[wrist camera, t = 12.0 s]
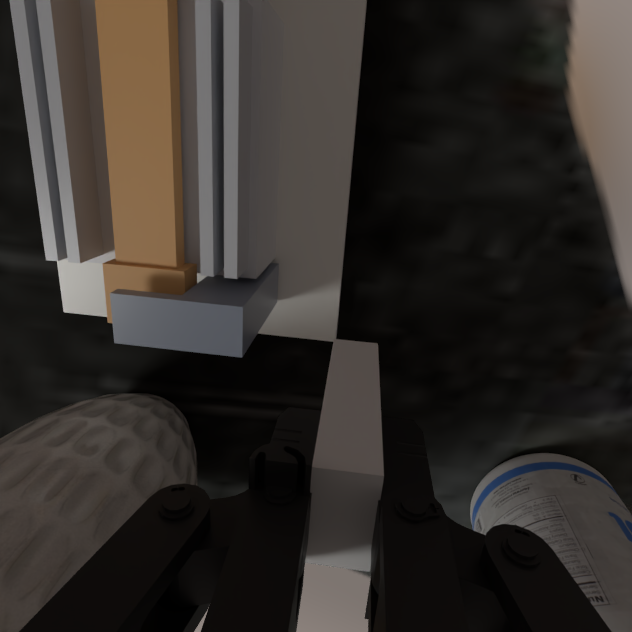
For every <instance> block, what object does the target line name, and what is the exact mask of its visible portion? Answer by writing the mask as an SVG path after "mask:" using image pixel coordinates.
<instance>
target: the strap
mask: <svg viewBox="0 0 632 632" xmlns="http://www.w3.org/2000/svg"><path fill="white" fill-rule="evenodd" d="M95 9H96V21H97V34H98V46H99V59H100V71H101V84H102V96H103V109H104V121H105V134H106V146H107V159H108V171H109V183H110V196H111V208H112V221H113V233H114V246H115V259H112V260H110V261H107V262H105V263H102V264H103V275H104V286H105V297H106V308H107V319H108V323H113V322H112V312H111V301H110V293H111V292H113V291H115V290H116V289H127V290H136V291H146V292H155V293H165V294H175V295H183V294H184V293H185V292H187V291H188V290H189V289H191V288H192V287H193V286H195V285H196V284H197V264H193V263H185V256H184V221H183V186H182V151H181V115H180V80H179V45H178V10H177V0H95Z"/></svg>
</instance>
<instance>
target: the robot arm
mask: <svg viewBox="0 0 632 632" xmlns="http://www.w3.org/2000/svg"><path fill="white" fill-rule="evenodd" d="M305 563H311V564H318V565H326V566H332V567H339V568H346V569H353V570H360V571H368V572H370V566H371V581H370V587H369V594H368V601H367V607H366V614H365V619H369V620H368V632H612V631H611V630H610V629H609V627H608V626H607V624H606V623H605V622H604V620H603V619H602V618H601V616H600V615H599V613H598V612H597V611H596V609H595V608H594V606H593V605H592V604H591V602H590V601H589V599H588V598H587V597H586V595H585V594H584V592H583V591H582V590H581V588H580V587H579V586H578V584H577V583H576V581H575V580H574V579H573V577H572V576H571V574H570V573H569V572H568V570H567V569H566V567H565V566H564V565H563V563H562V562H561V560H560V559H559V558H558V556H557V555H556V553H555V552H554V551H553V549H552V548H551V547H550V546H549V545H548V544H547V543H546V542H545V541H544V540H543V539H542V538H541V537H539V536H538V535H536V534H535V533H533V532H532V531H530V530H528V529H525V528H522V527H520V526H517V525H510V524H501V525H497V526H493V527H492V528H491V529H490V530H489V531H488V532H487V533H486V535H484V534H481V533H479V532H476V531H473V530H471V529H468V528H466V527H464V526H462V525H460V524H458V523H456V522H454V521H453V520H452V519H450V518H449V517H448V516H447V515H446V514H445V512H444V510H443V508H442V505H441V504H440V503H439V502H438V501H437V500H436V499H435V497H434V491H433V486H432V481H431V475H430V470H429V464H428V459H427V453H426V448H425V443H424V437H423V432H422V431H421V429H420V428H419V427H418V426H417V424H416V423H415V422H414V421H413V420H408V419H399V418H391V417H382V416H381V400H380V378H379V357H378V343H368V342H359V341H349V340H340V339H334V341H333V347H332V353H331V359H330V364H329V370H328V376H327V382H326V388H325V394H324V399H323V405H322V411H319V410H311V409H302V408H293V407H288V408H287V409H286V410H285V411H284V412H283V413H282V414H281V415H279V416H278V420H277V423H276V426H275V430H274V432H273V435H272V439H271V441H270V443H269V444H265V445H262V446H261V447H259V448H258V449H256V450H254V452H253V453H252V455H251V456H250V458H249V489H248V490H246V491H245V492H243V493H241V494H238V495H236V496H231V497H227V498H219V499H211V500H210V498H209V496H208V495H207V493H206V492H205V490H203V489H201V488H199V487H198V486H196V485H191V484H185V483H183V484H175V485H170V486H167V487H165V488H162V489H160V490H158V491H157V492H156V493H154V494H153V495H152V496H150V497H149V498H148V499H147V500H146V501H145V502H144V503H143V504H142V505H141V507H140V508H139V509H138V510H137V511H136V512H135V513H134V514H133V515H132V516H131V517H130V518H129V519H128V520H127V521H126V522H125V523H124V524H123V525H122V526H121V527H120V528H119V529H118V530H117V531H116V532H115V533H114V534H113V535H112V536H111V537H110V538H109V539H108V540H107V541H106V543H105V544H104V545H103V546H102V547H101V548H100V549H99V550H98V551H97V552H96V553H95V554H94V555H93V556H92V557H91V558H90V559H89V560H88V561H87V562H86V563H85V564H84V565H83V566H82V567H81V568H80V569H79V570H78V571H77V572H76V573H75V574H74V575H73V576H72V577H71V579H70V580H69V581H68V582H67V583H66V584H65V585H64V586H63V587H62V588H61V589H60V590H59V591H58V592H57V593H56V594H55V595H54V596H53V597H52V598H51V599H50V600H49V601H48V602H47V603H46V604H45V605H44V606H43V607H42V608H41V609H40V610H39V611H38V612H37V614H36V615H35V616H34V617H33V618H32V619H31V620H30V621H29V622H28V623H27V624H26V625H25V626H24V627H23V628H22V629H21V630H20V631H19V632H194V631H195V629H196V627H197V626H198V624H199V622H200V621H201V619H202V618H203V616H204V614H205V613H206V611H207V609H208V607H209V609H208V612H207V615H206V618H205V621H204V624H203V627H202V630H201V632H296V628H297V622H298V615H299V608H300V601H301V594H302V587H303V576H304V565H305ZM209 605H210V606H209Z"/></svg>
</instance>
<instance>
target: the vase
mask: <svg viewBox="0 0 632 632" xmlns="http://www.w3.org/2000/svg"><path fill="white" fill-rule="evenodd" d="M183 483H185V484H191V485H196V486H197V456H196V450H195V446H194V442H193V438H192V434H191V431H190V428H189V424H188V422H187V420H186V418H185V416H184V415H183V413H182V412H181V411H180V410H179V409H178V408H177V407H176V406H175V405H174V404H172V403H171V402H169V401H168V400H166V399H164V398H162V397H159V396H156V395H152V394H144V393H125V394H111V395H105V396H101V397H97V398H93V399H89V400H85V401H81V402H77V403H74V404H71V405H69V406H66V407H64V408H61V409H59V410H56V411H54V412H51V413H49V414H46V415H44V416H41V417H39V418H37V419H35V420H33V421H31V422H29V423H27V424H25V425H24V426H22V427H20V428H18V429H16V430H15V431H13V432H11V433H9V434H7V435H6V436H4V437H2V438H0V632H19V631H20V630H21V629H22V628H23V627H24V626H25V625H26V624H27V623H28V622H29V621H30V620H31V619H32V618H33V617H34V616H35V615H36V614H37V612H38V611H39V610H40V609H41V608H42V607H43V606H44V605H45V604H46V603H47V602H48V601H49V600H50V599H51V598H52V597H53V596H54V595H55V594H56V593H57V592H58V591H59V590H60V589H61V588H62V587H63V586H64V585H65V584H66V583H67V582H68V581H69V580H70V579H71V577H72V576H73V575H74V574H75V573H76V572H77V571H78V570H79V569H80V568H81V567H82V566H83V565H84V564H85V563H86V562H87V561H88V560H89V559H90V558H91V557H92V556H93V555H94V554H95V553H96V552H97V551H98V550H99V549H100V548H101V547H102V546H103V545H104V544H105V543H106V541H107V540H108V539H109V538H110V537H111V536H112V535H113V534H114V533H115V532H116V531H117V530H118V529H119V528H120V527H121V526H122V525H123V524H124V523H125V522H126V521H127V520H128V519H129V518H130V517H131V516H132V515H133V514H134V513H135V512H136V511H137V510H138V509H139V508H140V507H141V505H142V504H143V503H144V502H145V501H146V500H147V499H148V498H149V497H150V496H152V495H153V494H154V493H156V492H157V491H158V490H160V489H162V488H165V487H167V486H170V485H175V484H183Z"/></svg>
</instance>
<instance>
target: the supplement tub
mask: <svg viewBox="0 0 632 632" xmlns="http://www.w3.org/2000/svg"><path fill="white" fill-rule="evenodd" d="M470 517H471V523H472V527H473V531H476V532H479V533H481V534H484V535H486V533H487V532H488V531H489V530H490V529H491V528H492V527H493V526H497V525H501V524H510V525H517V526H520V527H522V528H525V529H528V530H530V531H532V532H533V533H535V534H536V535H538V536H539V537H541V538H542V539H543V540H544V541H545V542H546V543H547V544H548V545H549V546H550V547H551V548H552V549H553V551H554V552H555V553H556V555H557V556H558V558H559V559H560V560H561V562H562V563H563V565H564V566H565V567H566V569H567V570H568V572H569V573H570V574H571V576H572V577H573V579H574V580H575V581H576V583H577V584H578V586H579V587H580V588H581V590H582V591H583V592H584V594H585V595H586V597H587V598H588V599H589V601H590V602H591V604H592V605H593V606H594V608H595V609H596V611H597V612H598V613H599V615H600V616H601V618H602V619H603V620H604V622H605V623H606V624H607V626H608V627H609V629H610V630H611V631H612V632H632V515H631V513H630V512H629V510H628V509H627V507H626V506H625V505H624V503H623V502H622V500H621V499H620V497H619V496H618V494H617V493H616V491H615V490H614V489H613V487H612V486H611V484H610V483H609V482H608V480H607V479H606V478H605V477H604V476H603V475H602V474H600V473H599V472H598V471H597V470H595V469H594V468H592V467H591V466H589V465H587V464H585V463H584V462H581V461H579V460H577V459H574V458H572V457H568V456H564V455H560V454H553V453H535V454H528V455H523V456H519V457H516V458H513V459H510V460H508V461H506V462H504V463H502V464H500V465H498V466H497V467H495V468H494V469H493V470H491V471H490V472H489V473H488V474H487V475H486V476H485V477H484V478H483V479H482V480H481V482H480V483H479V485H478V486H477V488H476V490H475V492H474V494H473V497H472V501H471V507H470Z"/></svg>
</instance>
